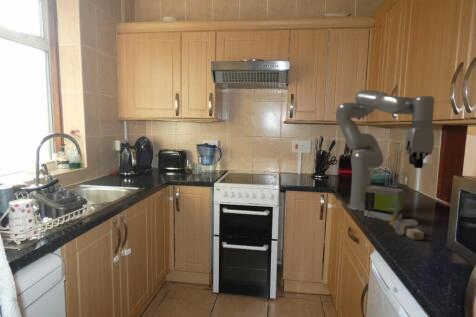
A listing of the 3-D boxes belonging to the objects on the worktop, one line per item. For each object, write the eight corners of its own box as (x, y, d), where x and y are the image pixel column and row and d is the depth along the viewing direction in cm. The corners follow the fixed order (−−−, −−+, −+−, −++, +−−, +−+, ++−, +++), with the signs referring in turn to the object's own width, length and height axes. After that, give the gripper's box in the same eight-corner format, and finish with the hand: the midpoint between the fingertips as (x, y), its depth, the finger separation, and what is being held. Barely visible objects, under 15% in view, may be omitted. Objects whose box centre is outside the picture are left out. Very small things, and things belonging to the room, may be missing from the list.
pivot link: (386, 223, 133) (387, 211, 132) (397, 223, 133) (398, 211, 133) (412, 239, 115) (413, 225, 114) (424, 239, 115) (425, 225, 114)
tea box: (402, 218, 141) (404, 189, 140) (396, 223, 134) (399, 192, 132) (370, 212, 151) (371, 184, 150) (363, 216, 144) (365, 187, 142)
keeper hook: (394, 232, 123) (395, 219, 122) (411, 232, 123) (413, 219, 123) (399, 235, 120) (400, 221, 119) (416, 234, 121) (417, 221, 120)
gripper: (431, 125, 128) (428, 166, 130) (399, 125, 127) (396, 166, 129) (444, 125, 121) (440, 169, 123) (410, 125, 120) (407, 169, 122)
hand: (418, 167), depth 126 cm, fingers closed
